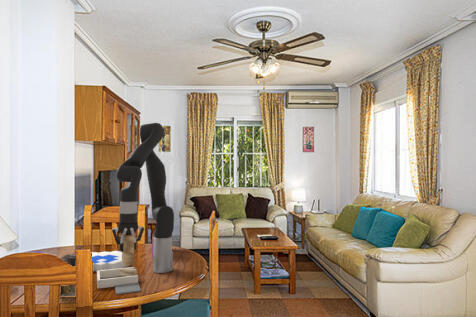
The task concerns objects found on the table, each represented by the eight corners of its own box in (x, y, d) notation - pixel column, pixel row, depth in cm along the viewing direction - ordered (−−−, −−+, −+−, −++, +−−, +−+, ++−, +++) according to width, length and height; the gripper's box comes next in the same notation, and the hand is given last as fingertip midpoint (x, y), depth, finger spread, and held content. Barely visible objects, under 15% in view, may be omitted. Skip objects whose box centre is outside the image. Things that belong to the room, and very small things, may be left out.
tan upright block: (131, 258, 156) (131, 232, 156) (133, 264, 146) (134, 236, 147) (121, 259, 154) (122, 232, 154) (123, 265, 145) (124, 237, 145)
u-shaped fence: (134, 273, 171) (134, 266, 171) (137, 283, 157) (138, 275, 157) (97, 278, 164) (97, 270, 164) (97, 288, 150) (97, 280, 150)
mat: (138, 283, 156) (138, 282, 156) (140, 291, 147) (140, 290, 147) (114, 286, 153) (114, 285, 153) (116, 294, 143) (116, 293, 143)
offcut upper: (124, 273, 165) (124, 267, 165) (136, 274, 163) (136, 269, 163) (119, 275, 162) (119, 269, 162) (131, 277, 159) (132, 271, 160)
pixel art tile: (140, 255, 193) (99, 268, 168) (140, 262, 193) (99, 276, 168) (105, 249, 206) (62, 260, 181) (104, 255, 206) (61, 268, 181)
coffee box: (88, 292, 146) (89, 253, 146) (82, 298, 140) (82, 257, 140) (66, 292, 146) (67, 253, 146) (59, 298, 139) (59, 257, 140)
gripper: (144, 210, 157) (143, 248, 157) (110, 211, 151) (110, 250, 151) (146, 212, 150) (145, 252, 150) (111, 213, 144) (110, 254, 144)
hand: (127, 251), depth 150 cm, fingers closed on tan upright block, 4 cm apart
